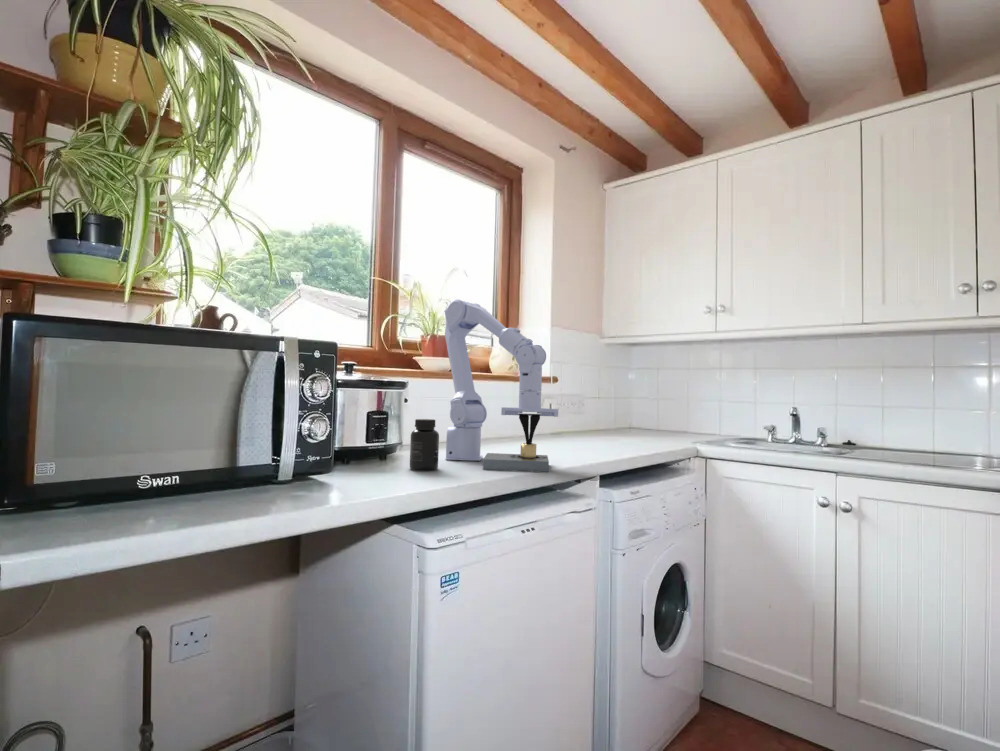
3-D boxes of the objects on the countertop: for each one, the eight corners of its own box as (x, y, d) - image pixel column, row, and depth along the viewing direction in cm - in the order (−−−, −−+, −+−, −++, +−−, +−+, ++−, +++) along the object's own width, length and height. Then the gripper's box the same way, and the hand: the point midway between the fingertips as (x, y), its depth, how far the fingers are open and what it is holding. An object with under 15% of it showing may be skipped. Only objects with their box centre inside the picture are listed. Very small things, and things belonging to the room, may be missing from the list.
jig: (482, 469, 128) (483, 459, 128) (487, 462, 140) (487, 453, 140) (548, 471, 127) (548, 461, 127) (547, 464, 139) (547, 455, 139)
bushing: (519, 468, 132) (519, 444, 133) (521, 465, 136) (521, 442, 136) (534, 469, 132) (535, 445, 132) (536, 466, 136) (537, 443, 136)
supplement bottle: (442, 470, 125) (444, 420, 125) (415, 472, 121) (417, 420, 121) (431, 466, 131) (433, 418, 131) (405, 467, 127) (407, 418, 127)
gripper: (501, 390, 131) (499, 444, 131) (559, 392, 130) (558, 446, 130) (502, 390, 138) (501, 441, 138) (557, 391, 137) (556, 443, 137)
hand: (528, 444), depth 134 cm, fingers closed, pressing on bushing
